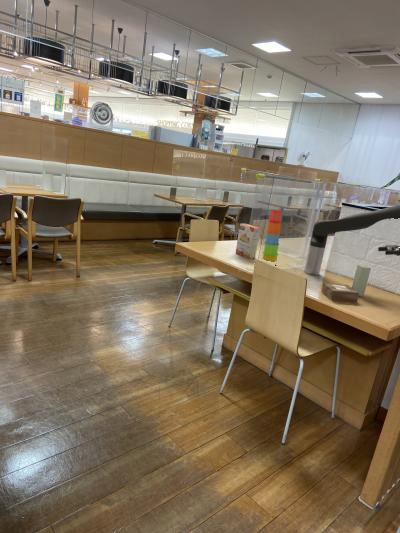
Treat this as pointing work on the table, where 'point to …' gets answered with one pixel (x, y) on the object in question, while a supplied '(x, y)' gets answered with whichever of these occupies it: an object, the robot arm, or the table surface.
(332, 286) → the plinth
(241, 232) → the cracker box
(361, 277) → the pillar
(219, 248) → the table surface
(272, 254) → the stacking cups
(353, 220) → the robot arm
